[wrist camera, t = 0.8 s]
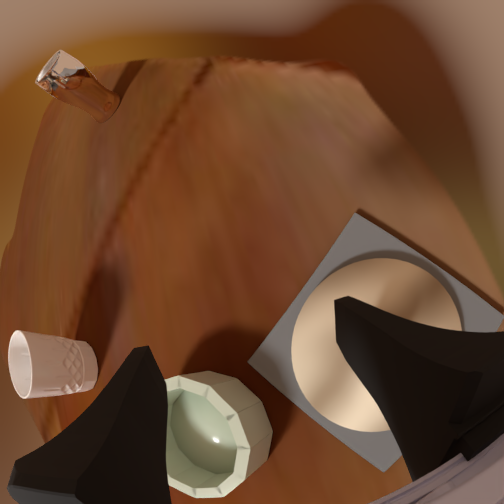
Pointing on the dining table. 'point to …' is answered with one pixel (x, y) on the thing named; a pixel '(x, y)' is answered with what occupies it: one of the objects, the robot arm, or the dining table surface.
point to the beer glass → (77, 86)
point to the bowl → (213, 433)
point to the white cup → (50, 365)
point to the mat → (340, 255)
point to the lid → (324, 335)
